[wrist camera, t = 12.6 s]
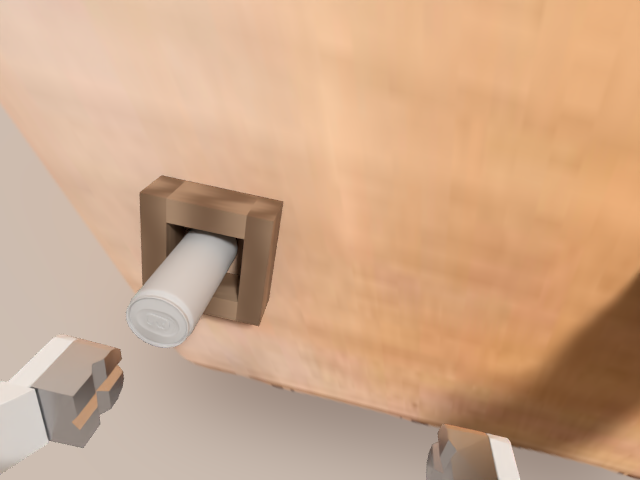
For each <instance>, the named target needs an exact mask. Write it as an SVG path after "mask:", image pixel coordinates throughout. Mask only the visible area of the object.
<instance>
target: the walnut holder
mask: <svg viewBox="0 0 640 480" xmlns="http://www.w3.org/2000/svg"><path fill="white" fill-rule="evenodd" d="M282 207H283V201H278V200H274V199H269V198H264V197H260V196H255V195H250V194H246V193H241V192H236V191H232V190H227V189H222V188H218V187H213V186H208V185H204V184H199V183H194V182H190V181H185V180H180V179H176V178H171V177H166V176H160V177H159V178H158V179H156V180H155V181H154V182H153V183H151V184H150V185H149V186H148V187H146V188H145V189H144V190H142V191H141V192H140V219H141V250H142V280H143V285H144V284H145V283H146V281H147V280H148V279H149V278H150V277H151V276H152V274H153V273H154V272H155V271H156V270H157V268H158V267H159V266H160V265H161V264H162V263H163V261H164V260H165V259H166V258H167V257H168V255H169V254H170V253H171V252H172V251H173V250H174V248H175V247H176V246H177V245H178V244H179V242H180V241H181V240H182V239H183V238H184V234H185V227H189V228H194V229H199V230H203V231H208V232H212V233H217V234H222V235H226V236H231V237H235V238H240V239H244V246H243V256H242V266H241V275H235V274H230V273H226V274H225V276H224V278H223V279H222V281H221V283H220V284H219V286H218V288H217V290H216V291H215V293H214V295H213V297H212V298H211V300H210V302H209V304H208V305H207V307H206V309H205V311H204V312H203V314H207V315H211V316H216V317H220V318H225V319H229V320H234V321H238V322H243V323H247V324H252V325H256V326H259V325H260V322H261V319H262V317H263V314H264V311H265V309H266V306H267V303H268V301H269V294H270V288H271V281H272V274H273V268H274V261H275V254H276V247H277V241H278V234H279V227H280V221H281V214H282Z"/></svg>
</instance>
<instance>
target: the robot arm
mask: <svg viewBox="0 0 640 480" xmlns="http://www.w3.org/2000/svg"><path fill="white" fill-rule="evenodd" d="M121 359H122V357H121V351H120V349H118V348H115V347H111V346H107V345H103V344H99V343H96V342H92V341H88V340H84V339H80V338H76V337H72V336H68V335H63V334H60V335H57V336H55V337H54V338H52V339H51V340H50V341H49V342H48V343H47V344H46V345H45V346H44V347H43V348H42V349H41V350H40V351H39V352H38V353H37V354H36V355H35V356H34V357H33V358H32V359H31V360H30V361H29V362H28V363H27V364H26V365H25V366H24V367H22V368H21V370H19V371H18V372H17V373H16V374H15V375H14V376H13V377H12V378H11V379H10V380H9V381H8V382H4V381H0V474H2V473H3V472H5V471H6V470H8V469H9V468H11V467H12V466H14V465H16V464H17V463H19V462H20V461H22V460H23V459H25V458H26V457H28V456H29V455H31V454H33V453H34V452H36V451H37V450H38V449H40V448H42V447H43V446H45V445H46V444H48V443H49V441H53V442H58V443H62V444H67V445H72V446H76V447H81V448H84V446H85V445H86V443H87V442H88V441H89V439H90V438H91V437H92V435H93V434H94V432H95V431H96V429H97V428H98V427H99V425H100V414H102V413H104V412H106V411H108V410H110V409H111V408H112V406H113V405H114V404H115V402H116V401H117V399H118V397H119V394H120V392H121V390H122V387H123V380H124V375H123V371H122V369H121V368H120V367H119V366H118V365H117V364H118V363H119V362H120V361H121ZM426 480H521V479H520V476H519V472H518V469H517V464H516V461H515V457H514V453H513V449H512V446H511V442H510V441H509V440H508V438H505V437H501V436H496V435H492V434H488V433H484V432H481V431H476V430H472V429H467V428H462V427H458V426H453V425H449V424H443V425H442V426H441V427H440V429H439V431H438V442H437V443H435V444H433V445H432V447H431V449H430V452H429V455H428V460H427V469H426Z"/></svg>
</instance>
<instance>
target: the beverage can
mask: <svg viewBox="0 0 640 480" xmlns="http://www.w3.org/2000/svg"><path fill="white" fill-rule="evenodd" d="M237 249H238V246H237V241H236V239H235V237H231V236H226V235H222V234H217V233H212V232H208V231H203V230H199V229H194V228H191V229H190V231H189V232H188V233H187V234H186V235H185V237H184V238H183V239H182V240H181V241H180V242H179V244H178V245H177V246H176V247H175V248H174V250H173V251H172V252H171V253H170V254H169V255H168V257H167V258H166V259H165V260H164V261H163V263H162V264H161V265H160V266H159V267H158V268H157V270H156V271H155V272H154V273H153V274H152V276H151V277H150V278H149V279H148V280H147V281H146V283H145V284H144V285H143V286H142V287H141V289H140V290H139V291H138V292H137V293H136V294H135V296H134V297H133V298H132V299H131V302H130V305H129V306H128V308H127V311H126V320H127V323H128V326H129V327H130V329H131V330H132V332H133V333H134V334H135V335H136V336H137V337H138V338H140V339H141V340H143V341H144V342H146V343H148V344H150V345H153V346H157V347H161V348H170V347H175V346H177V345H179V344H181V343H182V342H183V341H184V340H185V339H186V338H187V337H188V336H189V335H190V334H191V333H192V331H193V330H194V328H195V326H196V324H197V323H198V321H199V319H200V317H201V316H202V314H203V312H204V311H205V309H206V307H207V305H208V304H209V302H210V300H211V298H212V297H213V295H214V293H215V291H216V290H217V288H218V286H219V284H220V283H221V281H222V279H223V278H224V276H225V274H226V272H227V271H228V269H229V267H230V265H231V264H232V262H233V260H234V258H235V256H236V254H237Z"/></svg>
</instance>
